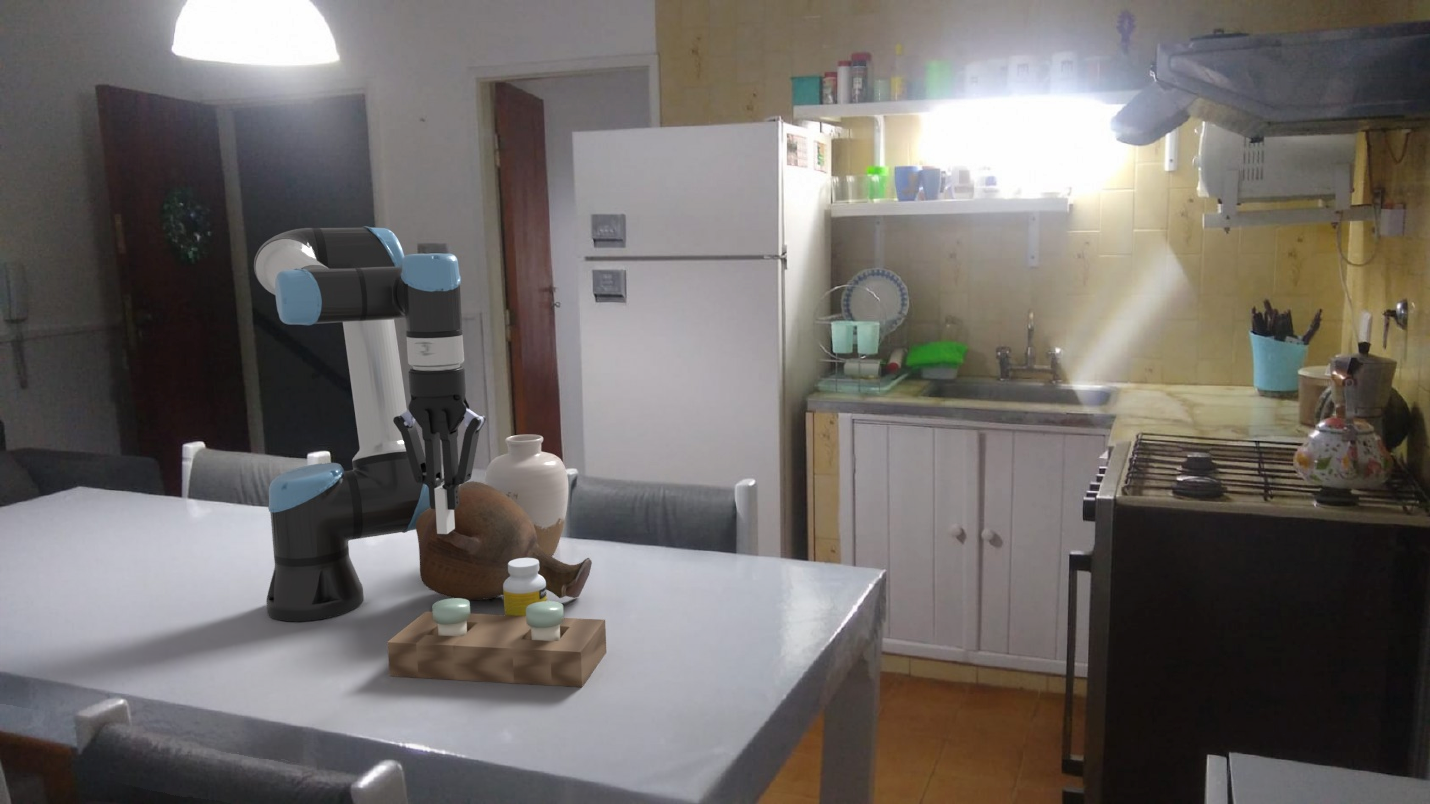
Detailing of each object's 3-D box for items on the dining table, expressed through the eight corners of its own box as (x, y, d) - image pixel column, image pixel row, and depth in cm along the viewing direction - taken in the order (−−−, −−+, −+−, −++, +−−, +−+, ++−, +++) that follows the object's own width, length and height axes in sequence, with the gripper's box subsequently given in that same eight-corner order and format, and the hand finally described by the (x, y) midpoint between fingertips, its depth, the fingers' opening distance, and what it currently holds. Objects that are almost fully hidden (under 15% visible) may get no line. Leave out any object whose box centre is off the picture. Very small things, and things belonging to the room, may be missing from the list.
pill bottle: (539, 644, 156) (535, 570, 154) (498, 642, 157) (494, 568, 155) (554, 628, 162) (551, 556, 160) (515, 626, 164) (511, 554, 162)
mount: (389, 676, 146) (387, 642, 145) (427, 643, 157) (425, 611, 157) (582, 687, 141) (580, 652, 140) (606, 652, 152) (605, 619, 152)
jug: (391, 605, 173) (556, 657, 167) (383, 513, 163) (559, 566, 157) (453, 532, 190) (605, 578, 184) (449, 445, 179) (610, 490, 173)
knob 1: (429, 663, 148) (425, 610, 147) (445, 649, 153) (441, 597, 152) (464, 665, 147) (460, 611, 146) (478, 651, 152) (475, 598, 151)
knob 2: (523, 667, 146) (520, 613, 144) (535, 653, 151) (533, 600, 149) (558, 669, 145) (556, 614, 143) (570, 655, 150) (567, 601, 149)
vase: (563, 538, 211) (558, 427, 207) (578, 560, 196) (573, 441, 192) (483, 546, 206) (477, 433, 202) (493, 570, 191) (486, 448, 188)
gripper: (379, 369, 141) (390, 537, 145) (470, 370, 139) (479, 540, 143) (404, 362, 148) (415, 521, 152) (491, 363, 146) (499, 525, 150)
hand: (446, 530), depth 148 cm, fingers closed
